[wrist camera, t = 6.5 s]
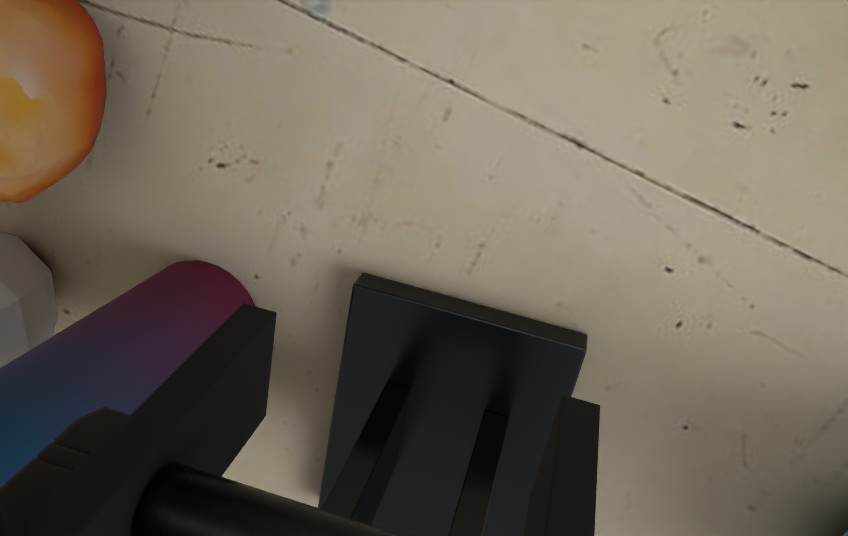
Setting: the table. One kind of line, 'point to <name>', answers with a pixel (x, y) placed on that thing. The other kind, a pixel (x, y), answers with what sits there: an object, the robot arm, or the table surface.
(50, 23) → the fruit
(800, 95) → the table surface
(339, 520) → the lever
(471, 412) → the bracket
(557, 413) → the robot arm
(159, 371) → the cup
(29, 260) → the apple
